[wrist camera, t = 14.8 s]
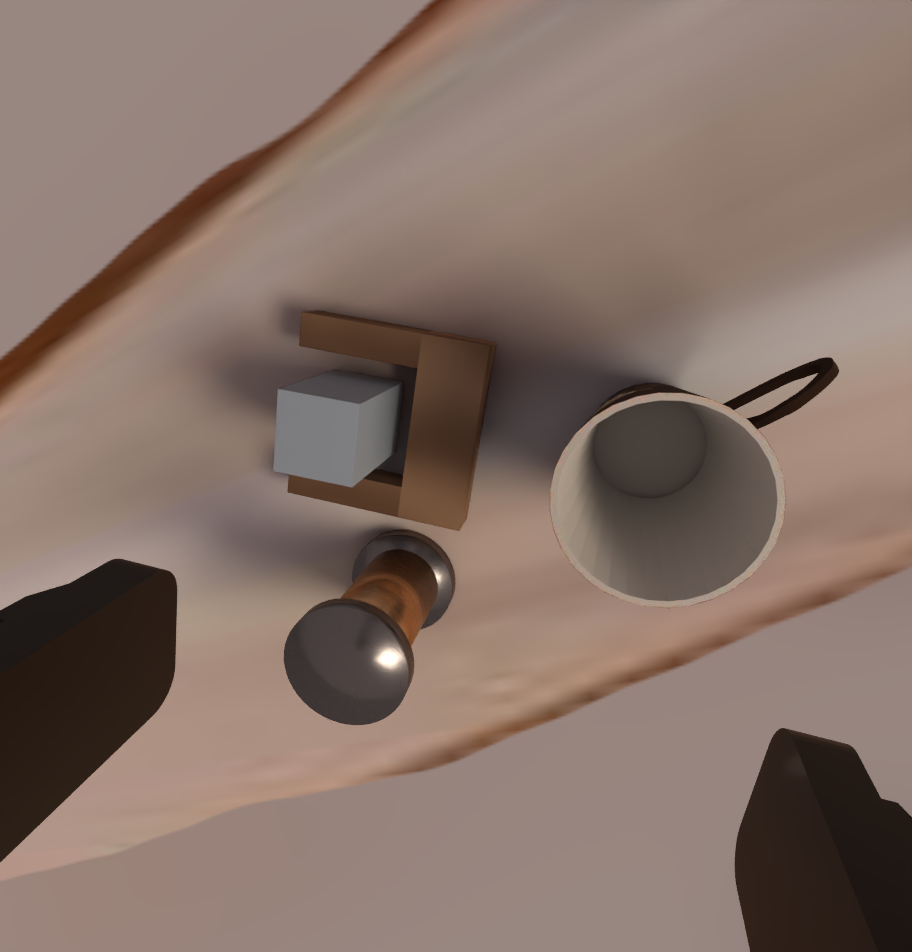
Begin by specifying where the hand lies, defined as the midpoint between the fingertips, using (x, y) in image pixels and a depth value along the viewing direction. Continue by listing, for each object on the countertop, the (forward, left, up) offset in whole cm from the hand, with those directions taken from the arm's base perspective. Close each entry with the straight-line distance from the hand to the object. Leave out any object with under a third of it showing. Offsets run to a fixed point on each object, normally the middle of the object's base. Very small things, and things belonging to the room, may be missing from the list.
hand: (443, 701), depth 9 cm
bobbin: (+13, -7, -28) cm, 32 cm away
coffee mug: (+2, +6, -28) cm, 29 cm away
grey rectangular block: (+4, -11, -28) cm, 30 cm away
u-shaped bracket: (+4, -9, -28) cm, 30 cm away
